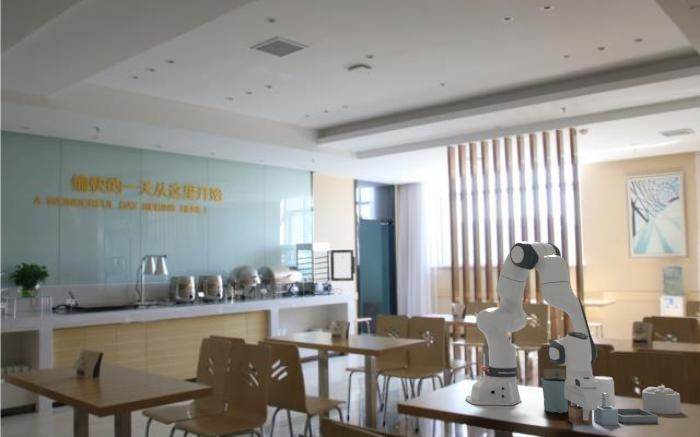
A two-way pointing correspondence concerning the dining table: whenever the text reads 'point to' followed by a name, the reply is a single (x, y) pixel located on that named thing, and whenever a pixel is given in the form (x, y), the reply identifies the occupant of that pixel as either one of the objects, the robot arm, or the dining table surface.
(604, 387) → the white tall block
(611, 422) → the blue block
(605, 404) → the pin gauge
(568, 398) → the robot arm
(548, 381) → the teal bin
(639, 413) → the tray
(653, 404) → the lumpy-topped squat cylinder
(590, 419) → the walnut block
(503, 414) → the dining table surface
